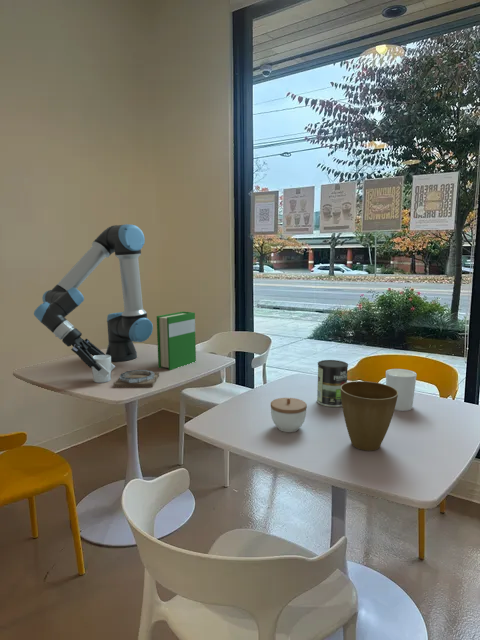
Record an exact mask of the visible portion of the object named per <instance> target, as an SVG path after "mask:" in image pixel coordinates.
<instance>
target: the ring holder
mask: <svg viewBox="0 0 480 640" xmlns="http://www.w3.org/2000/svg"><path fill="white" fill-rule="evenodd" d="M159 378H160V372H154V371H153V370H147V369H135V370H128V371H125V372H121V374H120V375H119V378H118V379H117V380H116V381H115V382H114V383H113V388H153V387H154V386H155V383H156V382H157V380H158V379H159Z"/></svg>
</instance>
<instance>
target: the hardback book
mask: <svg viewBox="0 0 480 640" xmlns="http://www.w3.org/2000/svg"><path fill="white" fill-rule="evenodd" d="M156 336H157V337H156V338H157V365H158V369H162V368H167V369H168V371H172V370H175V369H178V367H179V368H182V367H184V365H185V366H187V364H188V365H190V363H191V364H193V363H192V362H194V363H196V362H197V356H196V355H197V350H196V348H197V347H196V344H197V343H196V341H197V340H196V313H195V312H194V311H193V312H192V311H177V312H172V313H166V314H161V315H157V316H156ZM195 361H196V362H195ZM181 366H182V367H181Z"/></svg>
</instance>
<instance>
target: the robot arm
mask: <svg viewBox="0 0 480 640" xmlns="http://www.w3.org/2000/svg"><path fill="white" fill-rule="evenodd" d="M145 242H146V240H145V235H144V232H143V230H142V229H141V228H140V227H139V226H137V225H136V224H135V225H134V224H129V223H128V224H127V223H125V224H119V225H117V224H116V225H115V224H114V225H111V226H108V227H107V228H106V229H104V230H103V231H102V232H101V233H100V234H99V235H98V236H97V237H96V238H95V239H94V240H93V242H92V243H91V247H90V248H89V249H88V250H87V251H86V252H85V253H84V255H82V257H81V258H80V259H79V260H78V261H77V262H76V263H75V265H74V266H72V268H71V269H70V270H69V271H68V272H67V273H66V274H65V275H64V276H63V277H62V278H61V280H59V282H58V283H57V284H56V285H55V286H54V287H53V288H52V289H49V290H46V291H45V292H44V293H43V294H42V303H41V304H40V305H38V307H36V309H35V310H34V312H33V315H34V317H35V318H36V319H37V320H38V321H39V322H40V323H41V324H42V325H43V326H45V327H46V328H47V329H48V330H49V331H50V332H51V333H53V335H54V336H55V338H58V339H59V340H61V341H62V343H64V345H66V346H67V347H71V346H72V348H71V349H70V350H71V351H72V352H73V353H74V354H76V355H77V356H78V358H80V359H81V361H83V362H84V364H85V365H86V366H87V367H89V368H91V369H92V366H93V367H94V368H95V369H96V370H97V371H98V372H99V373H100V374H101V375H103V376H104V377H106V376H107V375H108V374H109V373H110V372H109V371H108V370H107V369H106V368H104V367H103V366H102V365H101V364H100V363H99V362H98V361H97V362H96V361H95V359H94V358H93V356H96V355H110V356H111V372H112V371H113V370H114V369H115V368H116V365H114V364H113V363H112V362H127V361H131V360H134V359H136V358H138V355H137V353H138V352H137V350H136V347H135V345H134V343H142V342H143V343H144V342H145V341H147V340H148V339H150V337H151V335H152V333H153V330H154V326H153V322H152V321H151V320H150V319H149V318H148V312H147V310H145V309H144V307H143V305H144V304H143V303H144V302H143V293H142V285H141V284H142V283H141V273H140V264H139V263H140V262H139V257H140V256H141V255H142V248H144V247H143V246H144V245H145ZM112 254H114V255H115V257H116V258H117V259H118V262H119V270H120V279H121V290H122V300H123V308H124V310H123V312H122V311H121V312H112V313H111V312H110V313H109V314H107V315H106V316H107V317H106V323H107V335H108V336H107V340H108V342H107V343H108V345H107V348H106V351H105V353H104V352H103V351H102V350H101V349H99V347H97V346H96V345H94V344H93V343H92V342H91V341H90V340H89V339H88V338H85V339H84V338H82V337H81V336H83V334H82V332H81V331H80V329H78V328H76V327H75V325H73V323H71V322H70V321H69V320H68V319H67V318H66V317H67V316H68V315H69V314H70V313H72V312H73V311H74V310H75V309H77V308H78V307H80V305H81V304H82V303H83V302H84V301H85V297H84V295H83V293H82V291H80V290H79V289H78V288H80V286H81V285H82V284H83V283H84V281H86V279H87V278H88V277H89V276H90V275H91V274H92V272H93V273H94V271H95V269H96V268H97V267H98V266H99V265H100V264H101V263H102V262H103V261H104V259H105V258H109V257H110V256H111V255H112Z"/></svg>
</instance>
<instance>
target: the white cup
mask: <svg viewBox="0 0 480 640" xmlns="http://www.w3.org/2000/svg"><path fill="white" fill-rule="evenodd" d="M92 357H93V358H94V359H95V361H96V362H97V361H98V362H99V363H100V364H101V365H102V366H103V367H104V368H106V369H107V370H108V371H109V372H110V373H109V374H108V375H107V376H106V377H104V376H103V375H101V374H100V373H99V372H98V371H97V370H96V369H95V368H94V367H93V366H92V367H91V370H92V371H91V372H92V377H93V382H94V383H96V384H99V383H101V384H102V383H103V384H104V383H107V382H110V381H111V380H112V371H111V363H112V361H111V356H110V355H106V354H105V355H96V356H93V355H92Z"/></svg>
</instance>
